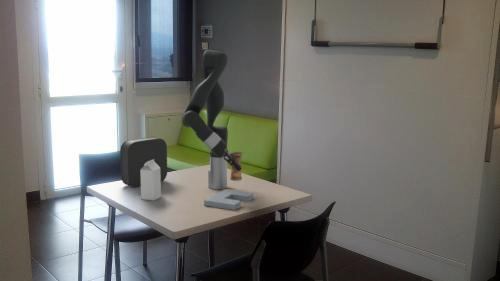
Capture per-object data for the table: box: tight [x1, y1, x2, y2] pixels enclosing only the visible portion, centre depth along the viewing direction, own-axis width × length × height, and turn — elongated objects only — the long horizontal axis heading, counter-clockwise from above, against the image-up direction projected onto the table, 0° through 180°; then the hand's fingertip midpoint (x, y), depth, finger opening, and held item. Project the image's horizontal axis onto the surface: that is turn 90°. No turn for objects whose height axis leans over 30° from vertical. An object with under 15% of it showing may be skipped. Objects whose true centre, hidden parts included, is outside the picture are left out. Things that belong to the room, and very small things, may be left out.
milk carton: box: [140, 159, 162, 201], centre depth 236 cm, size 7×7×19 cm
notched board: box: [203, 188, 255, 211], centre depth 233 cm, size 16×22×2 cm
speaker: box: [119, 136, 168, 188], centre depth 262 cm, size 25×9×25 cm, turn 136°
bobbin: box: [229, 151, 243, 182], centre depth 229 cm, size 6×6×13 cm
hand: (240, 168), depth 229 cm, fingers closed on bobbin, 5 cm apart
